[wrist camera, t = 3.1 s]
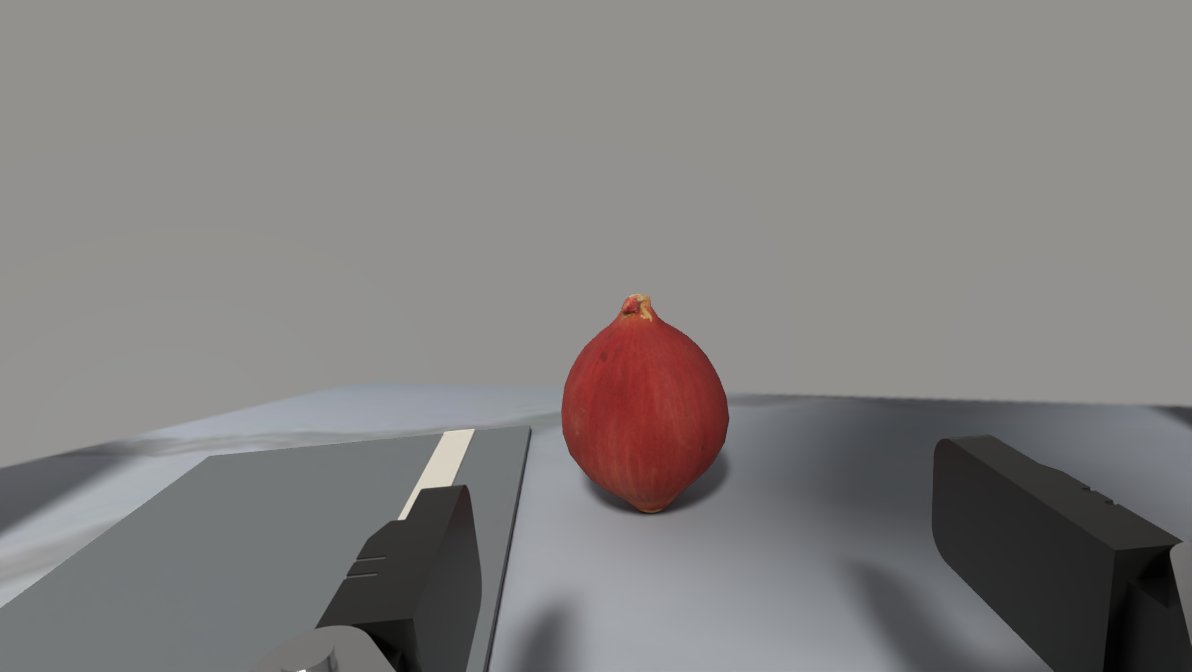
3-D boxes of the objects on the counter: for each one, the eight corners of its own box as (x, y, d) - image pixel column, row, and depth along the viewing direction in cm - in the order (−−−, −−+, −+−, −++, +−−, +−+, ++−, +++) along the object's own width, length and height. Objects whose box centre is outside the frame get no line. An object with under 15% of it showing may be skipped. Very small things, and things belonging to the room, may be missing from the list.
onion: (551, 495, 25) (529, 294, 24) (681, 462, 27) (669, 274, 25) (607, 571, 20) (583, 318, 18) (764, 523, 22) (756, 290, 20)
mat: (530, 431, 32) (529, 423, 32) (477, 718, 15) (475, 703, 15) (210, 461, 32) (209, 454, 32) (-229, 789, 15) (-236, 774, 14)
